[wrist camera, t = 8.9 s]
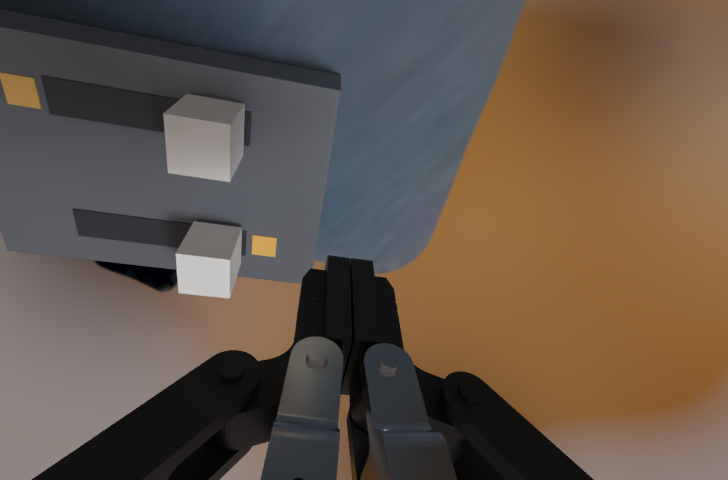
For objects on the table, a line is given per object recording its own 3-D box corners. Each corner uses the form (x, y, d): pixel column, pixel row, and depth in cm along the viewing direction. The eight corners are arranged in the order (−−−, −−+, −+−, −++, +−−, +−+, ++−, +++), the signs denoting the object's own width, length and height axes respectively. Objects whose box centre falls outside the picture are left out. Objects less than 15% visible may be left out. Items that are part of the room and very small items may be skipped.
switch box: (44, 219, 30) (6, 251, 27) (-17, 5, 22) (-80, 12, 19) (313, 252, 33) (310, 285, 30) (340, 74, 25) (340, 91, 22)
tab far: (195, 258, 27) (178, 292, 24) (193, 221, 26) (175, 253, 23) (240, 263, 28) (229, 298, 25) (242, 227, 26) (230, 259, 23)
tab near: (189, 147, 23) (167, 172, 20) (186, 93, 21) (163, 113, 18) (243, 155, 23) (230, 182, 21) (245, 104, 22) (230, 124, 19)
